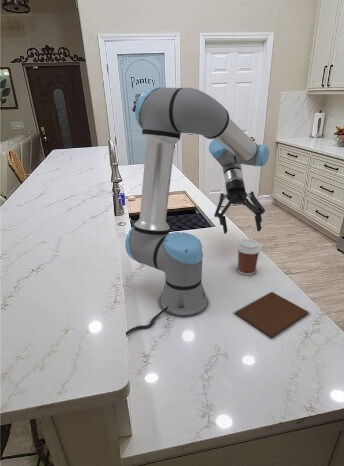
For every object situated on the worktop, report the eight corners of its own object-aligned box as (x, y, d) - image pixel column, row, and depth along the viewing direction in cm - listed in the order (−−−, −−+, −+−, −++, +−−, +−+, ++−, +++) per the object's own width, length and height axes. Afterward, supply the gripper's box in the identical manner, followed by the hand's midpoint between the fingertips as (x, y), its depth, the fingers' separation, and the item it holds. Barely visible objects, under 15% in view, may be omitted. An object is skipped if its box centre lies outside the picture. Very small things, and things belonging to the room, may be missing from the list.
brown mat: (271, 338, 94) (271, 336, 93) (235, 313, 104) (235, 311, 103) (307, 313, 103) (308, 311, 103) (271, 293, 113) (272, 291, 113)
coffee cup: (263, 274, 125) (267, 245, 119) (242, 278, 122) (244, 250, 116) (250, 263, 132) (253, 236, 127) (230, 267, 130) (232, 239, 124)
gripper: (260, 186, 139) (269, 232, 133) (203, 189, 137) (209, 236, 131) (266, 176, 132) (276, 225, 126) (206, 179, 130) (213, 229, 124)
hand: (242, 231), depth 128 cm, fingers open, 13 cm apart
